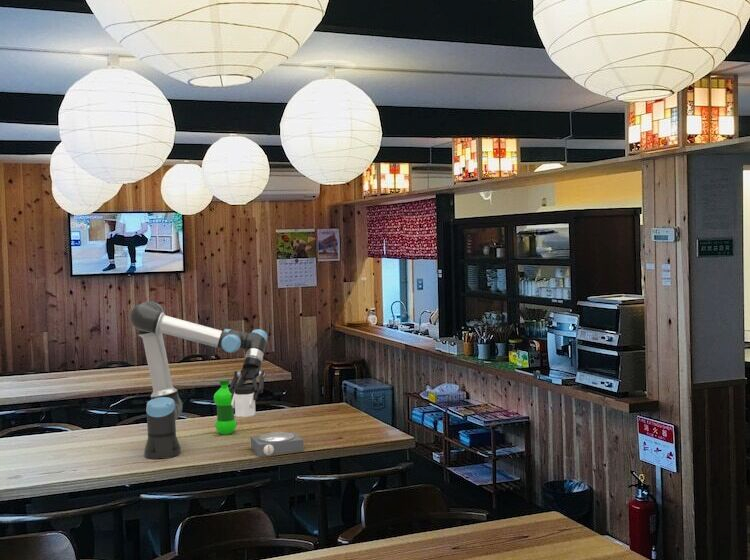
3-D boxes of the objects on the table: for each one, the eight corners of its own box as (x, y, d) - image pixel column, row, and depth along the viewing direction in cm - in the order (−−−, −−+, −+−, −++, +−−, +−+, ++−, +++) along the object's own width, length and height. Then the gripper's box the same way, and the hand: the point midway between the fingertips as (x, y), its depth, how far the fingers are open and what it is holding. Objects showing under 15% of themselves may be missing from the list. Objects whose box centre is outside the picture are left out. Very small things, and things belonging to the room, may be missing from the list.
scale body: (259, 457, 337) (259, 445, 337) (251, 448, 352) (250, 436, 352) (303, 451, 344) (303, 439, 343) (293, 442, 359) (293, 431, 359)
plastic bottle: (226, 436, 374) (223, 382, 373) (210, 434, 381) (208, 381, 379) (241, 432, 382) (239, 379, 381) (226, 429, 389) (224, 377, 387)
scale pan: (263, 444, 338) (263, 442, 338) (255, 436, 352) (255, 434, 352) (298, 439, 344) (298, 438, 344) (289, 432, 358) (288, 430, 358)
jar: (230, 416, 340) (229, 387, 340) (243, 412, 348) (242, 384, 347) (247, 417, 336) (246, 389, 335) (259, 413, 343) (258, 385, 342)
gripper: (277, 366, 354) (267, 411, 339) (233, 366, 358) (221, 411, 343) (272, 355, 348) (262, 401, 333) (228, 356, 352) (216, 401, 337)
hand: (241, 406), depth 338 cm, fingers closed on jar, 7 cm apart
